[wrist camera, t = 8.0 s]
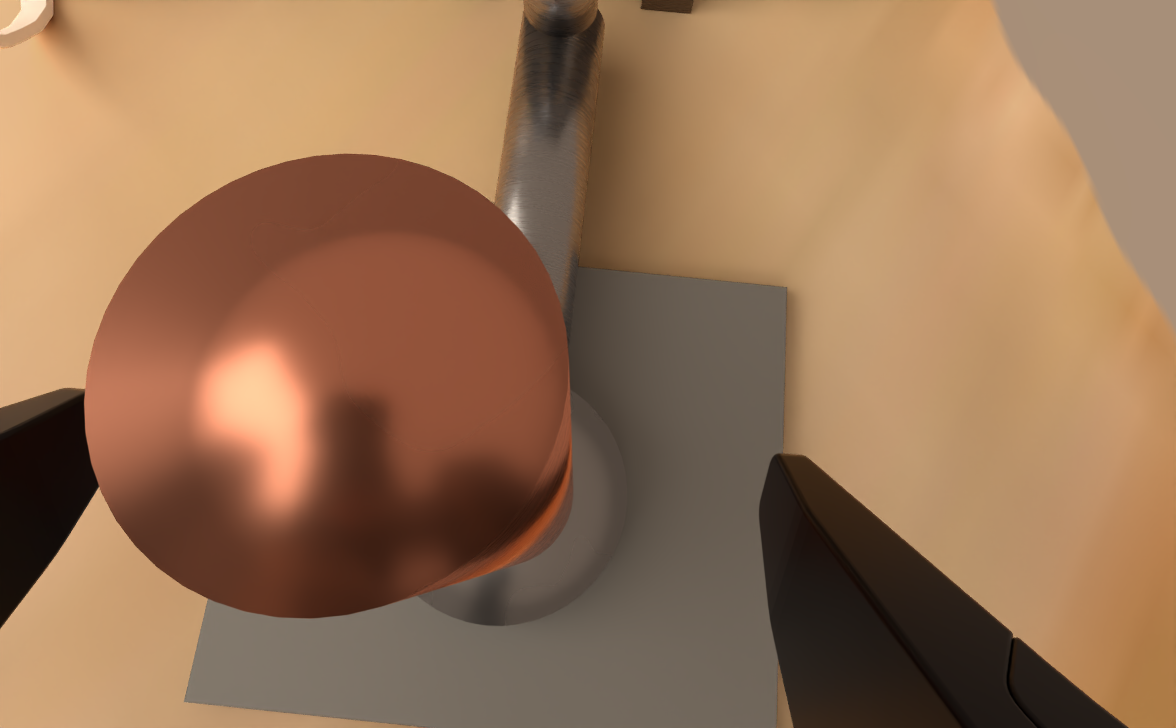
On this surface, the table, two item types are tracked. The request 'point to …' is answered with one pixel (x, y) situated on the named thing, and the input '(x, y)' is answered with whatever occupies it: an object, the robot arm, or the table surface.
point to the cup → (27, 22)
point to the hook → (372, 375)
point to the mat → (629, 581)
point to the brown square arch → (668, 5)
